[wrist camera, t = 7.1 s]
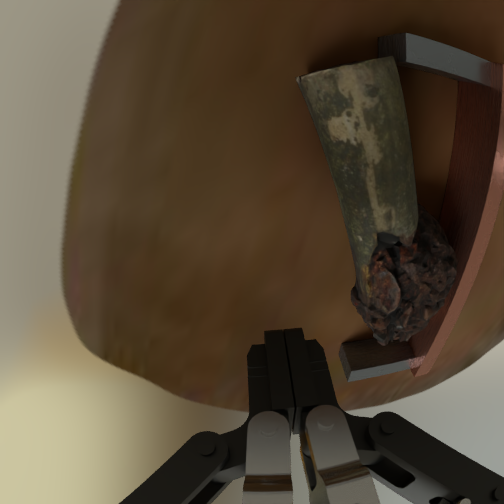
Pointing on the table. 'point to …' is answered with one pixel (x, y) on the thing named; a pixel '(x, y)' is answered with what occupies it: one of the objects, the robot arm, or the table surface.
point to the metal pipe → (380, 197)
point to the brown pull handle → (448, 197)
